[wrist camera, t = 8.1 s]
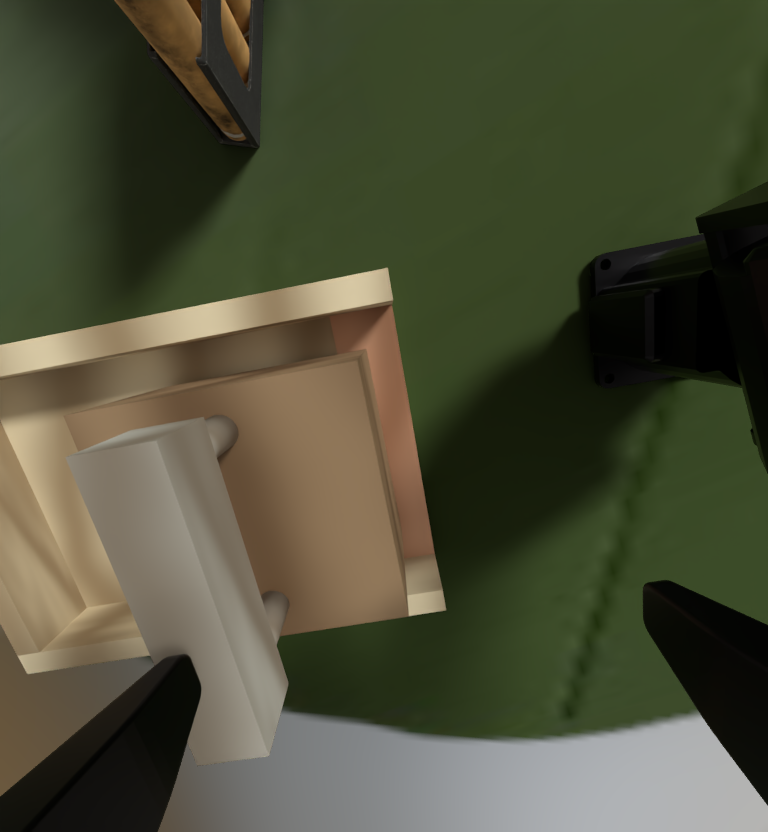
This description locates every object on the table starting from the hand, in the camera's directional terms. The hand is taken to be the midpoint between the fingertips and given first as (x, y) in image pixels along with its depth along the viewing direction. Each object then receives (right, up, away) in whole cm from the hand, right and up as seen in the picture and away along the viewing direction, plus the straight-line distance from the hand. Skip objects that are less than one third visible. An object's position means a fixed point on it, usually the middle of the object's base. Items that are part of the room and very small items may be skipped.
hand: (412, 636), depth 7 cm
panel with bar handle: (-5, +2, +12) cm, 13 cm away
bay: (-10, +1, +13) cm, 16 cm away
